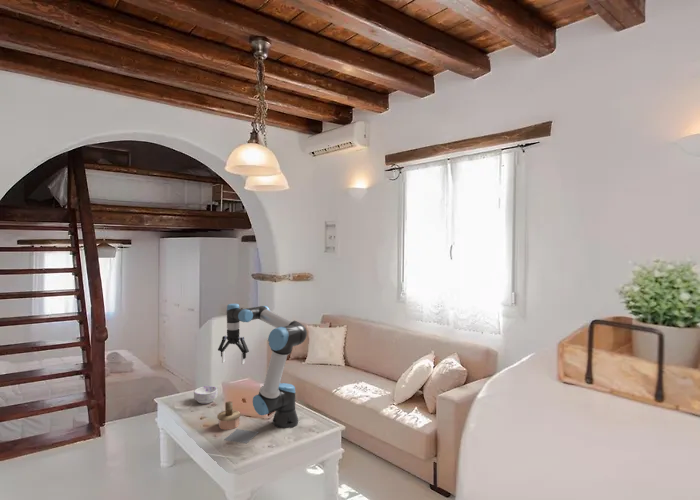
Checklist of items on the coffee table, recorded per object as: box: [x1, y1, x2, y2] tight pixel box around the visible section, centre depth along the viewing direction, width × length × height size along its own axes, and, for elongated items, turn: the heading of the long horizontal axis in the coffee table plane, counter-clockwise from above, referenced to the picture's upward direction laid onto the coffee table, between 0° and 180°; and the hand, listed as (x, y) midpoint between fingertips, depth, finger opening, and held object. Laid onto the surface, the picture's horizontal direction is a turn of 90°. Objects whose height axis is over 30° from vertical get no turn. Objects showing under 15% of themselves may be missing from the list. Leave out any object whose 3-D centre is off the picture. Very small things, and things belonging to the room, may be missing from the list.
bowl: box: [218, 417, 240, 431], centre depth 251 cm, size 11×11×6 cm
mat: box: [223, 428, 260, 444], centre depth 238 cm, size 14×14×1 cm
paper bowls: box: [193, 385, 218, 405], centre depth 290 cm, size 15×15×8 cm
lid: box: [216, 400, 241, 421], centre depth 251 cm, size 13×13×8 cm
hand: (233, 362), depth 267 cm, fingers open, 13 cm apart
